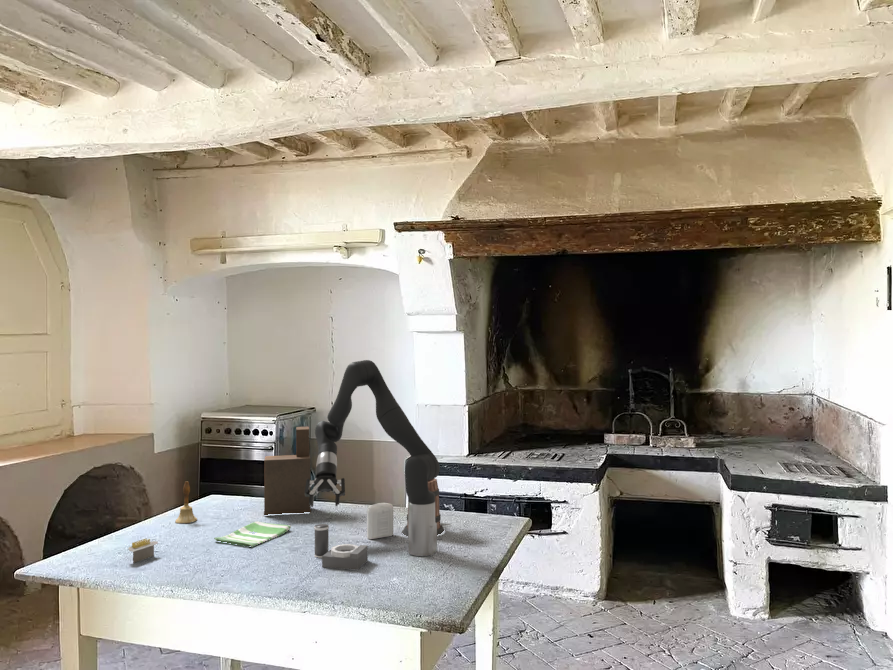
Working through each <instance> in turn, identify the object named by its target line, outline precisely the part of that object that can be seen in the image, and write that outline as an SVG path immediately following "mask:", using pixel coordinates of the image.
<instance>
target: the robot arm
mask: <svg viewBox="0 0 893 670" xmlns="http://www.w3.org/2000/svg"><path fill="white" fill-rule="evenodd" d="M364 386H367V387H368V388H369V389H370V390H371V393H372V394H373V396H374V399H375V415H376V419H377V421H378V422H379V424H380V426H381V427H382V429H383V430H384V432H385V433H386V434H387V436H389V437H390V438H391V439H392V440H393V441H395V442H396V443H398V444H399V445H401V446H402V447H403V448H404V449H405V450H406V451H407V452H408V454H409V455H410V457H408V459H407V460H406V463H405V467H404V481H405V492H406V496H407V500H408V501H407V514H408V537H407V538H408V540H407V541H408V543H407V548H408V550H407V551H408V554H410V555H412V556H415V557H416V556H417V557H428V556H431V555H432V556H434V554H435V553H436V552H437V550H438V537H437V523H436V522H435V494H434V493H433V492H431V491H429V490H428V480H431V479H434V478H435V479H437V477H438V476H439V474H440V470H441V467H440V466H441V465H440V463H439V461H438V459H437V457H436V456H435V454H434V453H433V452H432V450H431V449H430V448H429V447H428V445H427V444H426V443H425V442H424V440H423V439H422V437H420V435H419V433H418V432H417V430H416V429H415V427H414V426H413V425H412V423H411V422H410V420H409V418H408V416H407V415H406V413H405V412H404V411H403V409H402V407H401V406H400V404H399V403H398V402H397V400H396V398H395V396H394V395H393V394H392V392H391V390H390V389H389V387H388V385H387V383H386V381H385V378H384V377H383V375H382V373H381V371H380V370H379V368H378V366H377V364H376V363H375V362H373V361H372V360H369V359H365V360H358V361H352V362H350V363H349V364H348V365H347V366H346V368H345V370H344V373H343V376H342V379H341V383H340V387H339V389H338V393H337V396H336V398H335V400H334V402H333V404H332V406H331V407H330V410H329V411H328V414H327V417H326V418H327V420H321V421H319V422H318V423H317V424H316V425H315V429H314V434H315V439H316V444H317V447H318V449H317V451H318V452H317V459H316V464H315V465H316V468H315V479H313V480H311V478H310V479H307V480H306V486H305V496H306V497H309V505H311V508H314V501H315V498H314V497H315V496H317V495H318V494H319V492H320V493H325V492H326V493H330V492H332V493H333V495H335V502H334V503H335V505H334V506H335V507H338V506H339V505H340V503H341V500H340V499H341V497H342V496H343V497H344V496H345V495H346V482H345V481H346V480H345V478H344V477H342V478H341V479H337V470H338V459H337V454H338V445H337V442H339V441H340V440H341V439H342V436H343V431H344V427H345V423H346V421H347V419H348V417H349V415H350V413H351V410H352V407H353V402H352V400H353V399H352V396H353V394H354V391H356V389H357V388H358V387H364ZM313 485H314V486H313ZM337 485H339V486H340V487H341V490H339V489H338V488H337ZM312 486H313V488H312V490H311V487H312ZM309 489H310V492H309Z"/></svg>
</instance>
